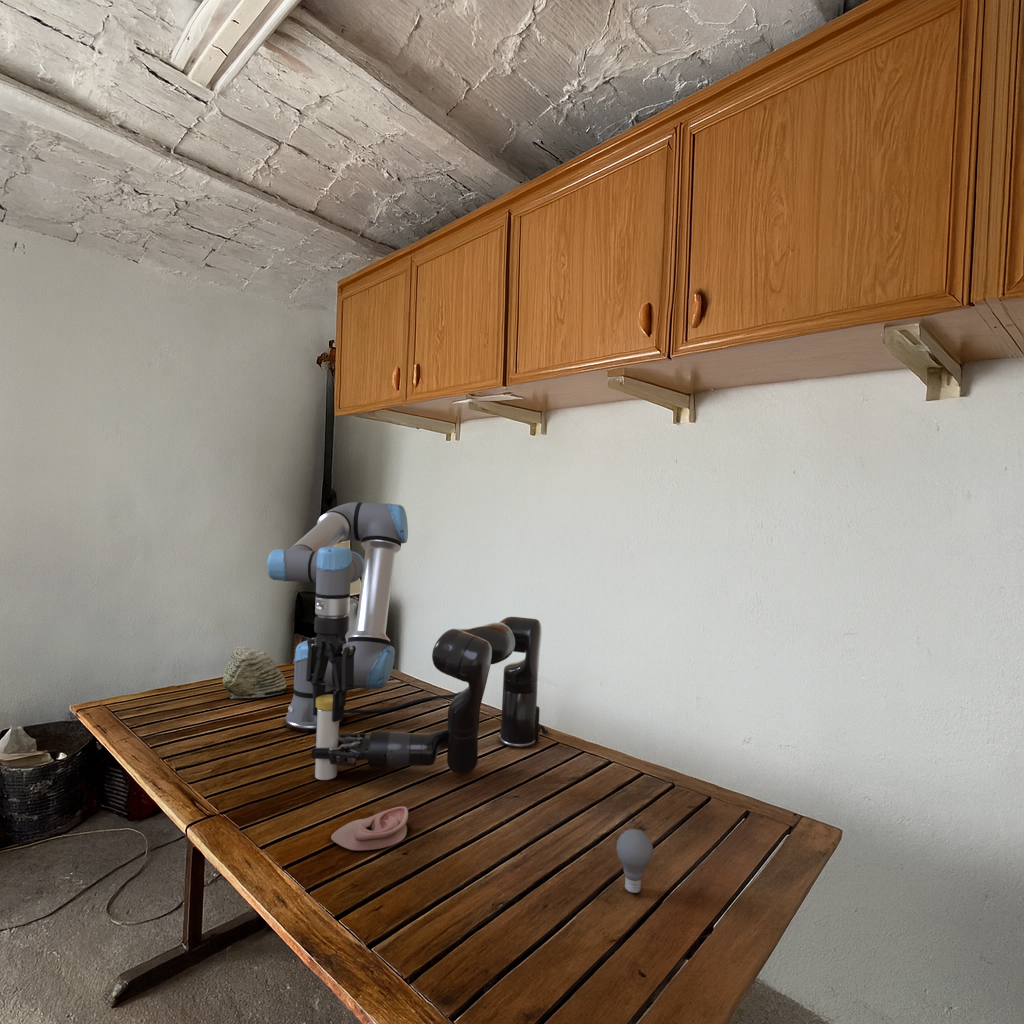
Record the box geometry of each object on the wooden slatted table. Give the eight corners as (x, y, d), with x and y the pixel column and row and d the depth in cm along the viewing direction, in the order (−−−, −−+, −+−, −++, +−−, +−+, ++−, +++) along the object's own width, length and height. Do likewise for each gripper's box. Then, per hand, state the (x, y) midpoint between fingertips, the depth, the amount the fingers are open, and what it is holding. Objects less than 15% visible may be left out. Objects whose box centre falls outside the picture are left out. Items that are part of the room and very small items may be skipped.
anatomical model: (323, 824, 115) (352, 795, 126) (322, 845, 115) (351, 815, 126) (392, 835, 112) (415, 805, 123) (391, 857, 112) (414, 825, 123)
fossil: (218, 695, 195) (220, 647, 195) (278, 685, 208) (279, 640, 207) (228, 703, 189) (230, 653, 188) (289, 692, 201) (290, 645, 201)
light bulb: (610, 879, 108) (613, 822, 108) (644, 879, 109) (647, 822, 109) (619, 902, 102) (622, 840, 102) (655, 901, 103) (658, 840, 103)
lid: (318, 711, 140) (318, 703, 140) (313, 703, 145) (313, 695, 145) (344, 708, 142) (344, 700, 142) (338, 700, 148) (338, 693, 147)
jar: (327, 769, 147) (330, 696, 147) (341, 774, 145) (344, 701, 144) (310, 775, 143) (313, 701, 143) (324, 782, 141) (327, 706, 140)
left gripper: (291, 612, 145) (287, 712, 146) (348, 623, 135) (344, 731, 136) (317, 608, 152) (314, 704, 152) (373, 618, 141) (369, 721, 142)
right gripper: (394, 721, 152) (322, 720, 151) (387, 745, 138) (307, 744, 136) (393, 752, 152) (321, 752, 151) (386, 779, 138) (306, 778, 137)
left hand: (328, 716), depth 144 cm, fingers closed on lid, 6 cm apart
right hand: (315, 748), depth 144 cm, fingers closed on jar, 5 cm apart
